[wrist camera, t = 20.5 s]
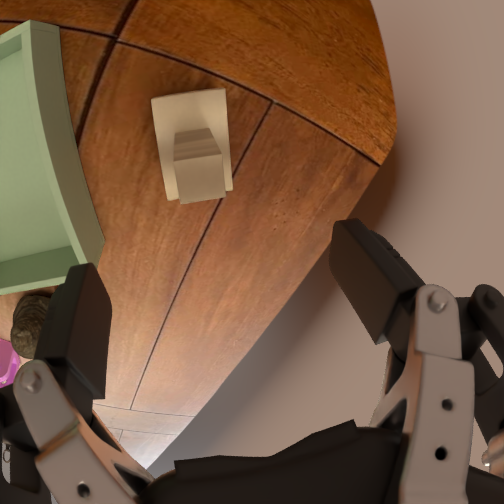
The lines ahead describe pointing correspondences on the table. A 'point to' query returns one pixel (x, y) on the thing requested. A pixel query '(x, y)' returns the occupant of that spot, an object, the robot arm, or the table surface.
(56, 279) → the bin
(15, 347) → the seashell
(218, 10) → the table surface
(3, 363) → the bracket
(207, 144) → the base with upright post
